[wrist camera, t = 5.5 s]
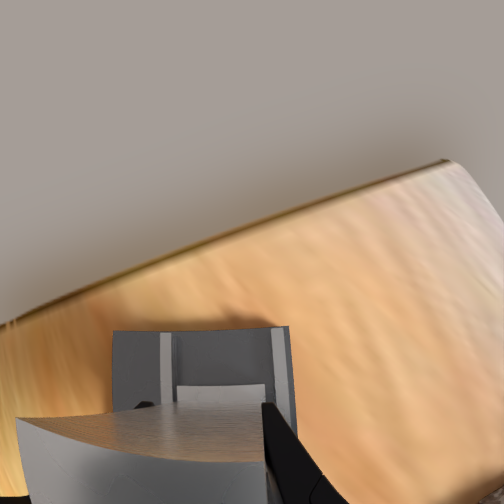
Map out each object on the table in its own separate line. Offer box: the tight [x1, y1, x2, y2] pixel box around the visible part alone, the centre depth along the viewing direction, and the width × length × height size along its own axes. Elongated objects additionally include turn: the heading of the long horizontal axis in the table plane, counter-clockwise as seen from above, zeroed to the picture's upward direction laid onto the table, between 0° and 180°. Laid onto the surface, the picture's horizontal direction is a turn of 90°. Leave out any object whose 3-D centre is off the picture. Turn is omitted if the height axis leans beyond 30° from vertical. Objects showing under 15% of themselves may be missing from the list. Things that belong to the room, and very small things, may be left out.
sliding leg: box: [16, 384, 268, 504], centre depth 7 cm, size 4×7×11 cm, turn 94°
